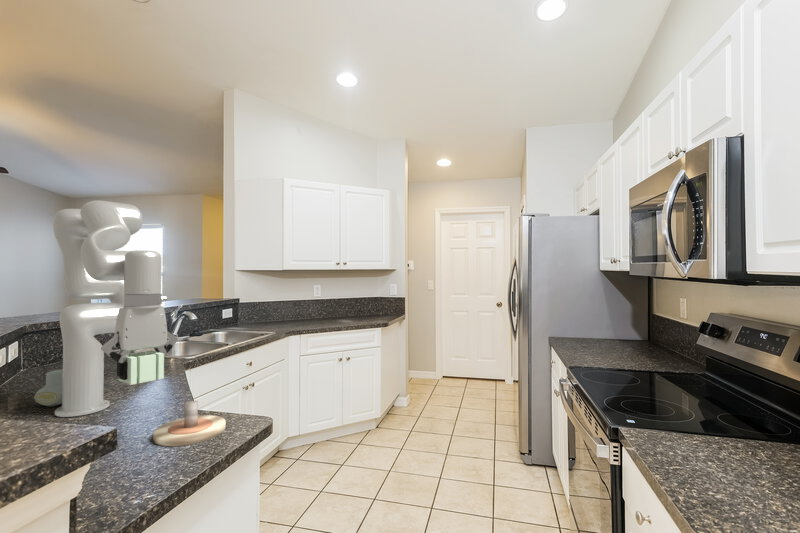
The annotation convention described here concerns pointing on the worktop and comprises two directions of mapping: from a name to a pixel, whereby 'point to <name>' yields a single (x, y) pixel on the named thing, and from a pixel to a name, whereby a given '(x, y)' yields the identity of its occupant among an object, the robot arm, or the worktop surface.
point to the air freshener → (51, 389)
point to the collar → (144, 367)
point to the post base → (189, 428)
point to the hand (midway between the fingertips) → (141, 375)
